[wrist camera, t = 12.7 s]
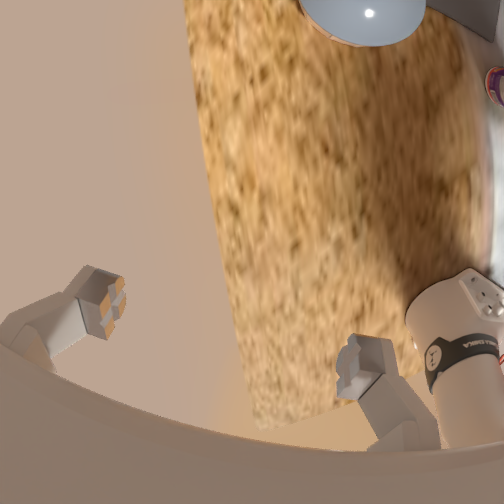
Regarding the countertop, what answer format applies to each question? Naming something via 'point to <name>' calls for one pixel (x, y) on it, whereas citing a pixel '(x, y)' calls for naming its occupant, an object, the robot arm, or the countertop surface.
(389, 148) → the countertop surface
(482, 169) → the countertop surface
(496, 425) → the robot arm
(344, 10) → the lid
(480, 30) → the mat
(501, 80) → the pill bottle
